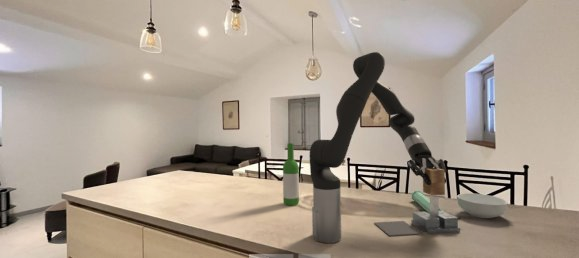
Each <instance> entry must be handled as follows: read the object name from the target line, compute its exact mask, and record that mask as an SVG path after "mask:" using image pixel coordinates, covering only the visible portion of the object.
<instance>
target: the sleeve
mask: <svg viewBox="0 0 579 258" xmlns="http://www.w3.org/2000/svg"><path fill="white" fill-rule="evenodd" d="M425 170H426V174H428V176H429V178H430V180H431V182H432V183H431V184H430V185H427V184H426V183H425V182H424V180H423V179H422V193H423V194H424V193H425V194H427V195H429V196H444V195H445V194H446V192H445V191H446V188H445V187H446V186H445V185H446V183H445V179H446V176H445V175H446V172H445V170H443V169H439V168H434V167H433V168H426V169H425Z"/></svg>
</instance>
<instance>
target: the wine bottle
mask: <svg viewBox="0 0 579 258" xmlns="http://www.w3.org/2000/svg"><path fill="white" fill-rule="evenodd" d="M294 151H295V150H294V143H293V142H292V143H287V159H286V161H284V163H283V165H282V186H283V187H282V191H283V192H282V195H283V205H285V206H297V205H299V202H300V184H299V183H300V176H299V174H300V173H299V172H300V171H299V165H298V162H297V161H296V160H295V158H294Z"/></svg>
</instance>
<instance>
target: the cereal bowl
mask: <svg viewBox="0 0 579 258" xmlns="http://www.w3.org/2000/svg"><path fill="white" fill-rule="evenodd" d="M456 198H457V199H456V200H457V205H458V206H459V207H460V209H462V210H463V211H465V212H467V213H468V214H470V215H471V216H474V217H477V218H482V219H494V218H496V217H497V218H498V217H500V216H503V215H504V214H506V212H507V211H508V208H509V202H508V201H507V200H506V199H504V198H501V197H497V196H494V195H488V194H483V193H470V192H469V193H468V192H466V193H465V192H464V193H460V194H458V195H457V196H456Z"/></svg>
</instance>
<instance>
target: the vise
mask: <svg viewBox="0 0 579 258" xmlns="http://www.w3.org/2000/svg"><path fill="white" fill-rule="evenodd" d="M429 199H430V214H429V213H428V212H427V211H413V212H412V219H411V220H410V221H411V222H410V223H411V224H412V225H413V226H414V225H415V226H414V227H416V228H417V229H420V231H423V232H424V233H426V234H427V235H434V234H451V233H452V234H453V233H461V228H460V226H459V223H458V222H459V221H461V220H462V218H461V216H455V215H453V214H451V213H448V212H446V211H444V210H442V211H439V207H440V205H439V201H440V200H439V199H440V198H439V196H438V195H429ZM411 224H410V225H411Z"/></svg>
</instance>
